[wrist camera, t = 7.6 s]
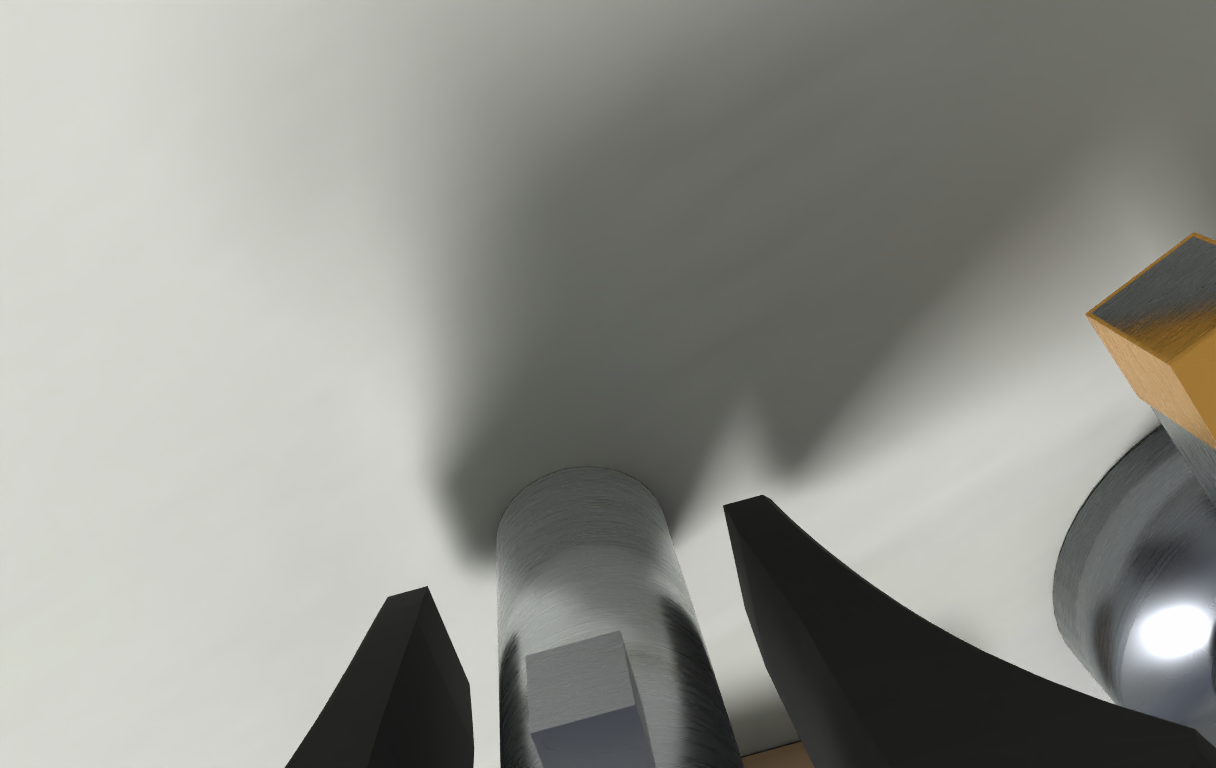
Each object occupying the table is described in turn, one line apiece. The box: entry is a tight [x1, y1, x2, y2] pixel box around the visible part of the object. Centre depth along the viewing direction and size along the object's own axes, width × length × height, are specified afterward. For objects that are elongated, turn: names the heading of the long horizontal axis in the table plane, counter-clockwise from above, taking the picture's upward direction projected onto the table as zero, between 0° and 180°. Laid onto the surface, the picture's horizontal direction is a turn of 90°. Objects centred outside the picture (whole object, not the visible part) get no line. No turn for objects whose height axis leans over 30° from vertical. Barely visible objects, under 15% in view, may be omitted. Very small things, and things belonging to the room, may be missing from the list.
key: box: [496, 467, 744, 768], centre depth 12 cm, size 5×3×6 cm, turn 14°
